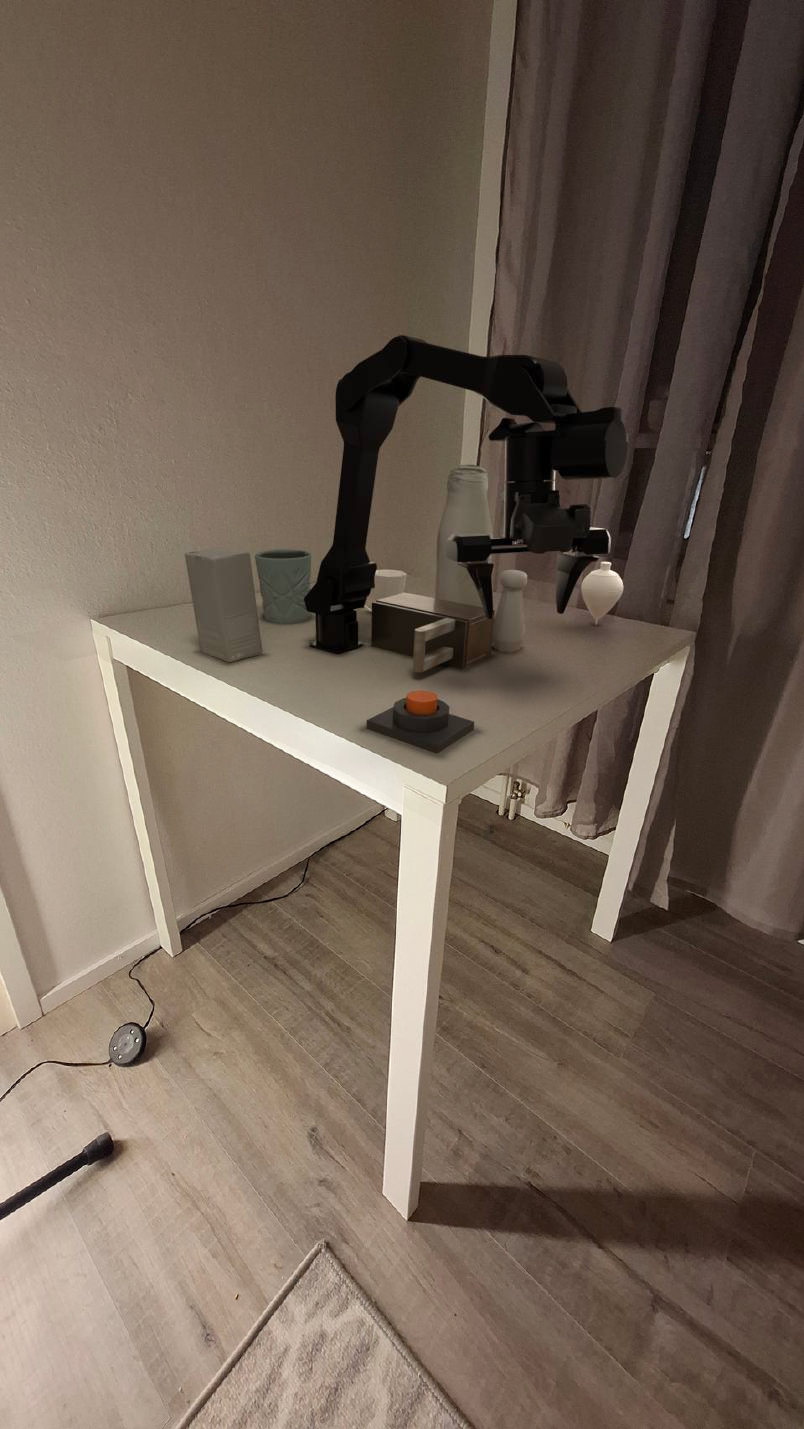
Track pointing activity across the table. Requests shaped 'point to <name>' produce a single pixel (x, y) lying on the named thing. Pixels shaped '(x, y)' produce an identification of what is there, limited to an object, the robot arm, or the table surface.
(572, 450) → the robot arm
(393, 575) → the cup
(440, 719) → the button block
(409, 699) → the release button
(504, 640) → the salt shaker
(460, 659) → the door
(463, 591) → the glass bottle
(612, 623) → the table surface
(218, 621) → the cosmetic box
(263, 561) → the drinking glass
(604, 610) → the spinning top
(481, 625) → the cabinet
